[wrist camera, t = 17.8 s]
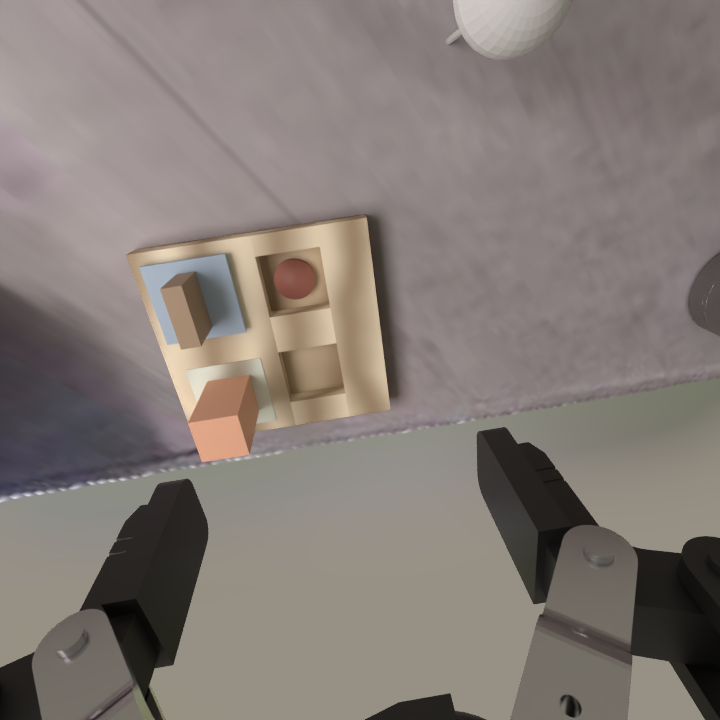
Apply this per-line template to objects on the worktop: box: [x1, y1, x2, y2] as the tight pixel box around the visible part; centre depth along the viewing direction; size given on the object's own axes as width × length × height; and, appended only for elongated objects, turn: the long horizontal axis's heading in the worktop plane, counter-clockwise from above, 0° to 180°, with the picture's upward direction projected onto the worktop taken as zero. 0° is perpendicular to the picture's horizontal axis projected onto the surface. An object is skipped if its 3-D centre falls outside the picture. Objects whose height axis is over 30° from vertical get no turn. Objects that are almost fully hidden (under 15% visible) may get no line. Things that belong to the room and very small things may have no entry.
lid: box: [139, 253, 247, 350], centre depth 36 cm, size 7×7×5 cm
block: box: [188, 375, 259, 462], centre depth 39 cm, size 4×4×7 cm
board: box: [126, 214, 391, 432], centre depth 41 cm, size 20×19×2 cm
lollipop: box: [446, 0, 572, 60], centre depth 27 cm, size 6×6×15 cm
